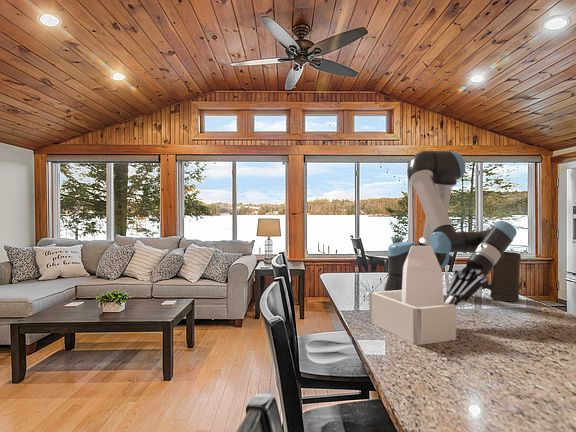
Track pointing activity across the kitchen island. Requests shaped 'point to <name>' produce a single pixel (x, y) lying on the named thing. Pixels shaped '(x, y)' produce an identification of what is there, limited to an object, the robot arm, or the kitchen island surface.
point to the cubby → (412, 318)
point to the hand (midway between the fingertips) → (442, 313)
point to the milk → (422, 278)
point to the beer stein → (505, 278)
